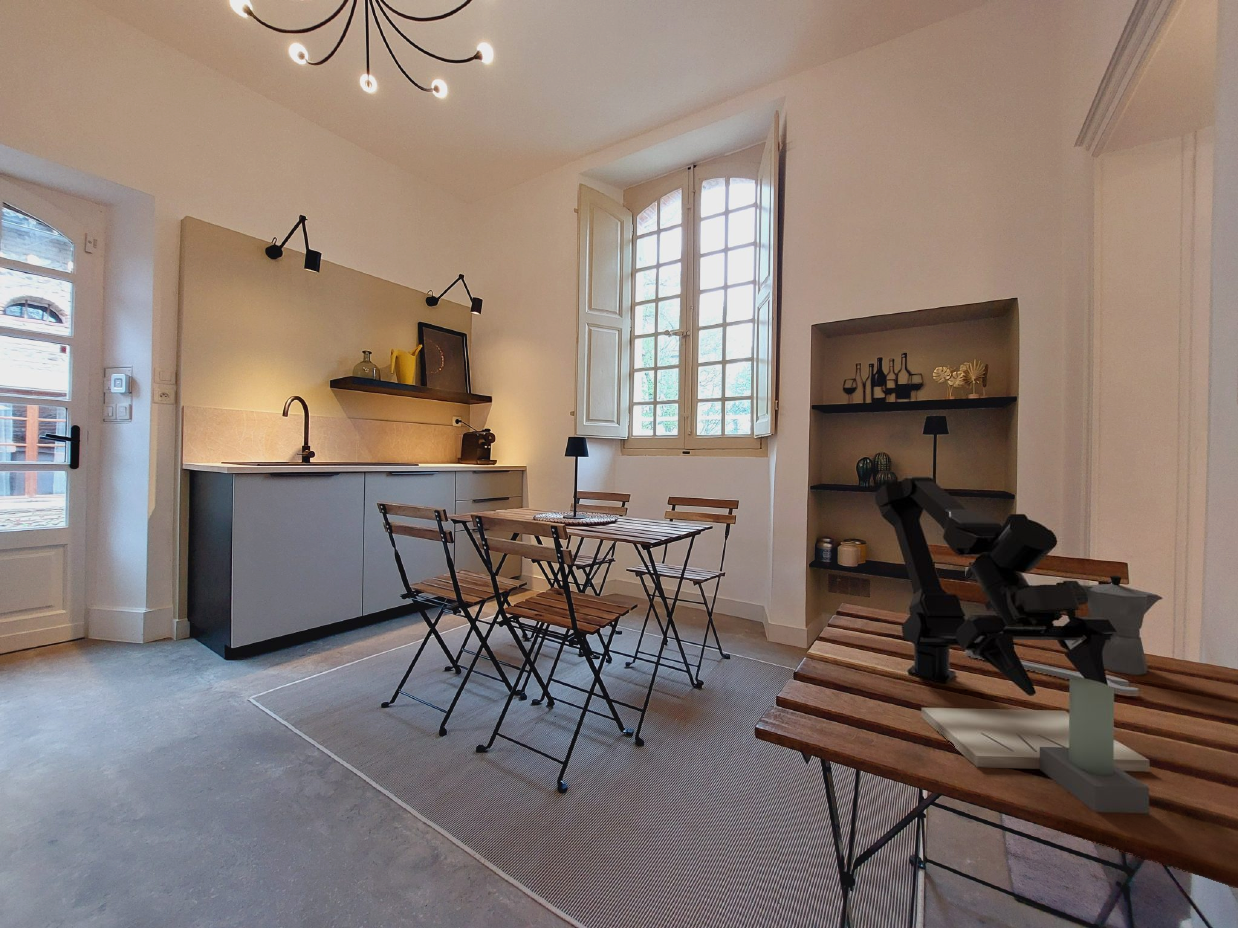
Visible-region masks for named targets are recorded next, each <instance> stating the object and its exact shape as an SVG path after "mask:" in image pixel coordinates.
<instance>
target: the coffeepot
mask: <svg viewBox="0 0 1238 928" xmlns="http://www.w3.org/2000/svg"><path fill="white" fill-rule="evenodd" d="M1110 580H1111V581H1110V582H1111V583H1108V584H1106V583H1105V584H1102V583H1101V584H1080V585H1081V586H1082V588H1083V589H1084V590H1085V592H1086V594H1087V597H1088V602H1087V608H1088V613H1089V617H1102V618H1105V619H1108V620H1109V621H1110V623H1111V624H1112V626H1113V627H1114V628H1115V630H1116V631H1117V632H1118V635H1116V636H1115V637H1114V638H1112V639H1111V642H1109V643H1108V644H1107V645H1105V646H1104V648H1103V651H1102V655H1103V665H1104V669H1105V671H1109V672H1114V673H1118V674H1125V675H1130V676H1131V675H1134V676H1142V675H1146V674H1147V671H1148V665H1147V661H1146V654H1145V652H1144V646H1143V642H1142V638H1141V633H1140V631H1141V630H1140V629H1141V628H1143V627H1142V626H1143V622H1144V617H1145V615H1146V613H1147V612H1148V611H1149V610H1150V609H1151V608H1152V607H1153V606H1154V605H1155V604H1156V603H1157V602H1158V601H1160V600H1163V597H1162V596H1161V595H1158V594H1155V593H1151V592H1147V591H1143V590H1139V589H1134V588H1131V587H1128V586H1124V585H1120V584H1121V580H1122V576H1119V575H1110ZM1065 613H1066V616H1067V618H1068V620H1069V621H1070V620H1071V619H1072V618H1074V617H1075V616H1076V610H1073V609H1072V610H1068V611H1065ZM1069 621H1068V622H1069Z"/></svg>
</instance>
